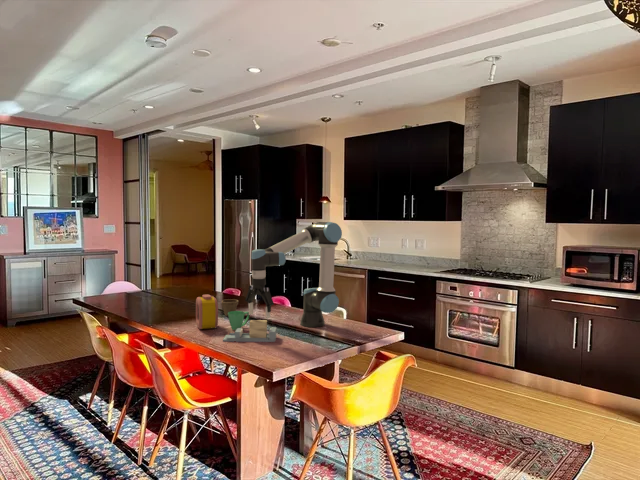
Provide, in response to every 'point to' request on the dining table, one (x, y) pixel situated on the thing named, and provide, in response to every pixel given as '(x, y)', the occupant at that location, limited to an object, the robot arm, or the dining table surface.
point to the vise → (245, 338)
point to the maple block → (258, 329)
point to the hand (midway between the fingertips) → (259, 316)
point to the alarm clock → (206, 312)
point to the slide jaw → (238, 332)
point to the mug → (237, 319)
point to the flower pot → (229, 305)
